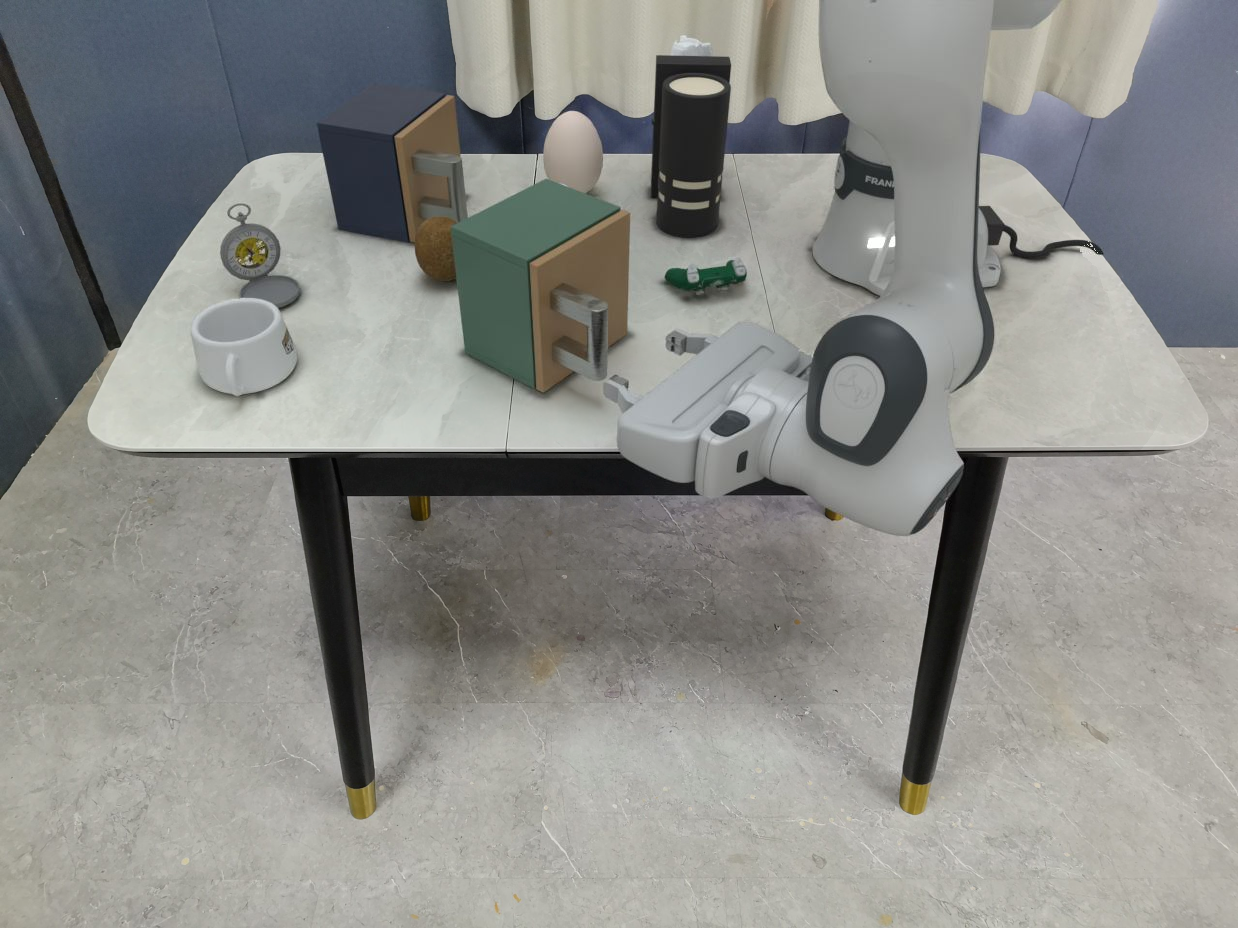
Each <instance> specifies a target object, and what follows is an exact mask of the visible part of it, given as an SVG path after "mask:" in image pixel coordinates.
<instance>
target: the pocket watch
mask: <svg viewBox="0 0 1238 928" xmlns="http://www.w3.org/2000/svg"><path fill="white" fill-rule="evenodd" d="M239 206H243V207H246V208H247V213H246V214H244V213H243V212H242V211H239V212H237V215H236V217H234V216H233V215H231V210H233V208H235V207H239ZM251 212H252V208H251V206H250V205H248V204H246V203H235V204H233V205H231V206H230V207H228V210H227V211H226V213H227V214H226V215H227V216H228V218H230V219H232V220H234V221H236V222H239V223H240V224H239V225H237V226H235V227H233V228H232V229H230V230H229V231H228V232H227V233H226V234H225V236H224V238H223V239H222V242H221V244H220V251H219V253H220V260H221V262H222V263H221V264H222V265H223V267H224V268H225V269H226V271H227V272H228V273H229V274H230V275H231V276H233V277H235V278H237V279H240V280H243V281H244V280H245V281H248V282H247V283H245V284H244V285H243V286H242V287H241V288H240V290H239V292H238V293H239V295H238V296H239V297H238V298H256V299H262V300H265V301H268V302H271V303H272V304H274V305H275V306H276V307H277V308H278V309H279V308H283V307H286V306H287V305H289V304H292V303H293V302H294V301H295V300H296V299H298V297H299V296H300V293H301V286H300V283H299V281H298V280H297V279H295V278H293V277H291V276H287V275H282V274H274V275H269V274H270V273H271V272H273V270H275V268H276V266H278V263H279V262H280V258H281V251H282V250H281V249H282V247H281V245H280V241H279V238H278V237H277V236H276V234H275V233H274V232H273V231H272V230H270V228H268V227H266V226H265V225H262V224H259V223H254V222H251V223H250V222H249V223H246V220H247V219H248V217H249V216H250V214H251ZM263 250H264V252H263V253H261V252H262V251H263ZM246 257H247V259H246ZM247 262H249V264H247ZM251 263H252V264H251Z"/></svg>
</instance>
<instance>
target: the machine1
mask: <svg viewBox="0 0 1238 928" xmlns="http://www.w3.org/2000/svg"><path fill="white" fill-rule="evenodd" d="M446 96H447V95H446V93H444V92H438V91H432V90H425V89H418V88H411V87H404V86H397V85H391V84H383V83H377V82H375V83H373V84H372V85H370V86H369V87H366V89H364V90H362V91H361V92H360V93H358V94H357V95H356V96H354V97H352V98H351V99H350V100H348V101H346V102H345V103H344V104H342V105H341V106H339V107H337V108H336V109H335V110H333V111H332V112H330V113H329V114H327V115H326V116H325V117H323V118H321V119H320V120H319V121H317V122H316V127H317V133H318V138H319V142H320V148H321V151H322V156H323V163H324V165H325V166H324V167H325V172H326V176H327V181H328V186H329V191H330V195H331V200H332V205H333V210H334V215H335V219H336V224H337V229H338V230H341V231H345V232H350V233H351V232H352V233H356V234H360V235H361V234H362V235H368V236H372V237H378V238H383V239H387V240H393V241H398V242H403V243H409V242H410V238H409V231H408V224H407V218H406V211H405V204H404V198H403V191H402V184H401V178H400V171H399V164H398V158H397V151H396V144H395V138H394V137H395V136H396V135H397V134H398V133H400V132H401V131H402V130H404V129H405V128H406V127H407V126H409V125H410V124H411V123H412V122H414V121H415V120H416V119H418V118H419V117H420V116H421V115H423V114H424V113H425V112H427V111H428V110H429V109H430V108H432V107H433V106H434V105H435V104H437V103H438V102H439V101H441V100H442V99H443V98H444V97H446Z"/></svg>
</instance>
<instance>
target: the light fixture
mask: <svg viewBox="0 0 1238 928" xmlns="http://www.w3.org/2000/svg"><path fill="white" fill-rule="evenodd" d="M731 72H732V61H731V58H730V56H717V55H716V56H715V55H713V56H672V55H670V54H669V55H668V54H667V55H665V54H663V55H662V54H656V55H655V77H654V99H653V118H652V119H651V125H652V126H653V127H652V146H651V147H652V149H651V172H650V173H651V174H650V198H651V199H652V198H653V199H656V218H655V221H656V225H657V227H658V228H659V229H660V230H661V231H662V232H664V233H666V234H668V235H671V236H676V237H681V238H700V237H704V236H707V235H709V234H711V233H713V232H715V230H716V229H717V228H718V225H719V216H720V208H721V207H720V206H721V192H722V187H723V185H722V184H723V172H724V164H725V153H726V144H727V134H728V123H729V114H730V113H729V112H730V103H731V92H732V85H731V75H732V73H731Z"/></svg>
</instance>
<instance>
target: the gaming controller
mask: <svg viewBox="0 0 1238 928" xmlns="http://www.w3.org/2000/svg"><path fill="white" fill-rule="evenodd" d="M747 275H748V271H747V268H746V266H745V264H744V262H743V259H741V258H740V257H738V256H737V257H735V258H734V259H730V260H728V261H727V262H726V263H725V265H722V266H714V267H706V268H698V266H697V265H696V264H695V263H690V264H689V265H688V266H687V268H681V267H672V268H668V269H667V270H666V271H665V275H664V277H663V279H664V280H665V281H666V282H667V283H668V284H669V285H670V286H672V287H673V288H675V289H676V290H677V289H678V290H681V291H686V292H694V293H695V295H696V296H699V295H703V294H705V290H706V289H707V288H711V287H715V288H716V289H718V291H719V292H726V291H728V290H729V287H730V285H737V284H739V283H743V282H745V281H746V278H747Z"/></svg>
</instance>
